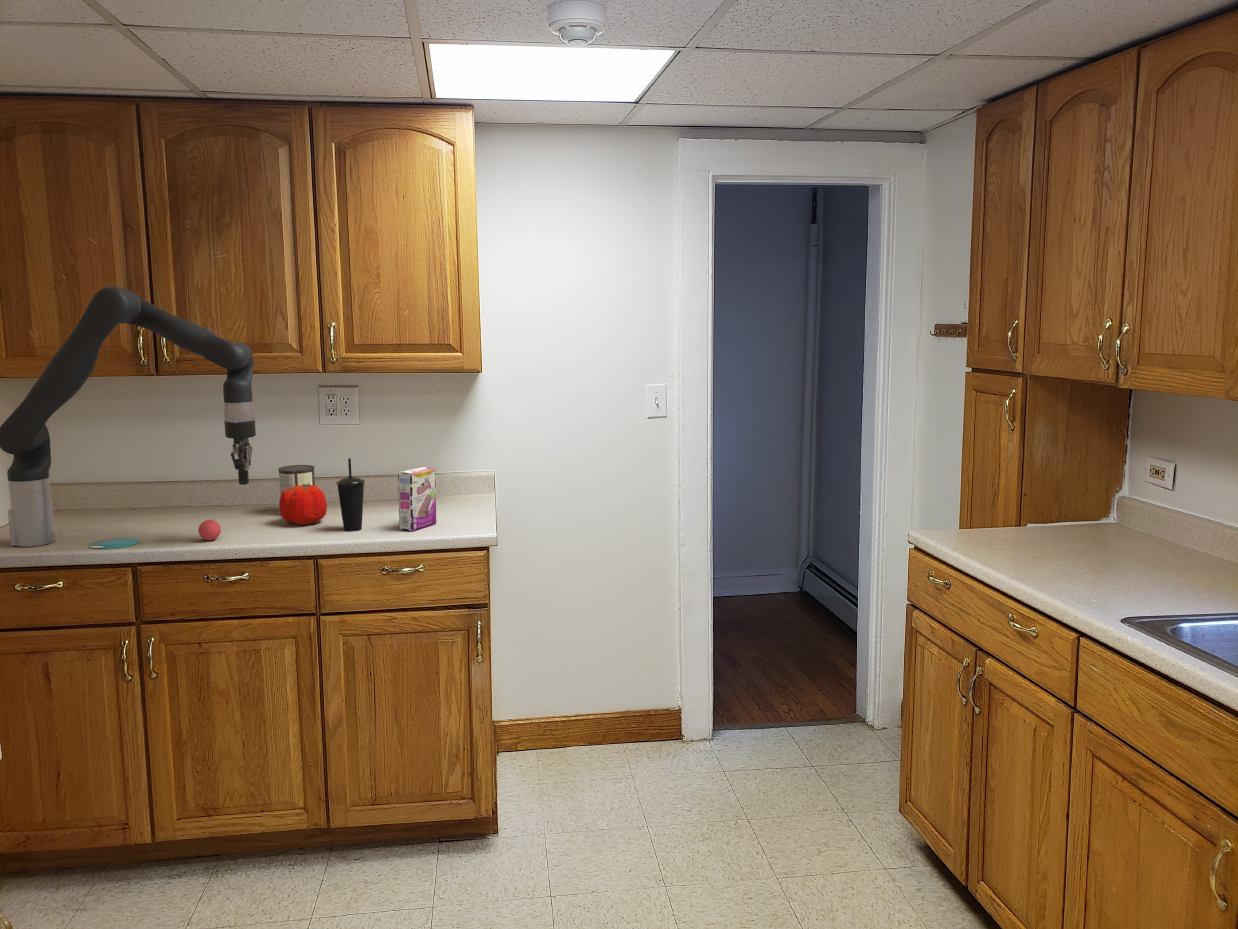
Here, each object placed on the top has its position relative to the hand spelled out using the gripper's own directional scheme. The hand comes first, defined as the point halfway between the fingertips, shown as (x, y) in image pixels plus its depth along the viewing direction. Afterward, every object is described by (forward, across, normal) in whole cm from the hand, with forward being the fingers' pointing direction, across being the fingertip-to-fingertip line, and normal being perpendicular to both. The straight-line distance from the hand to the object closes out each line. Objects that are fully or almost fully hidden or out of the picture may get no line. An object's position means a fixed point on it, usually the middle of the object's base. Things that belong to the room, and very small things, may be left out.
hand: (244, 484), depth 252 cm
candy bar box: (+15, -7, +44) cm, 48 cm away
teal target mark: (+15, 0, -34) cm, 37 cm away
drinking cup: (+15, -7, +26) cm, 31 cm away
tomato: (+15, -18, +12) cm, 26 cm away
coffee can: (+15, -32, +8) cm, 36 cm away
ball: (+12, 0, -10) cm, 15 cm away
